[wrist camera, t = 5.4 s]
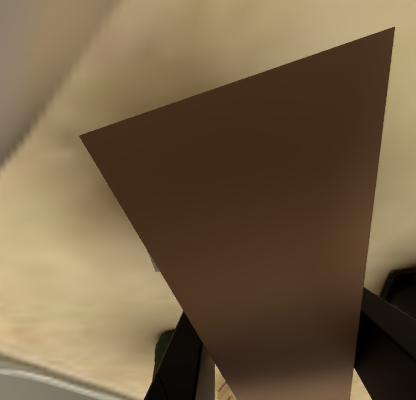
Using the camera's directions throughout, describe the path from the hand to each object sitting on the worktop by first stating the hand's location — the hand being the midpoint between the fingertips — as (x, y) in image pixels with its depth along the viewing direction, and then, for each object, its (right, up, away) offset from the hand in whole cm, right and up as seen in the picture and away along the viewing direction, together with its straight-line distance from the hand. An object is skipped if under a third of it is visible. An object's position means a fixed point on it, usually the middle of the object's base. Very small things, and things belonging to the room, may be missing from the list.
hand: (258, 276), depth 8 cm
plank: (0, +1, +1) cm, 1 cm away
